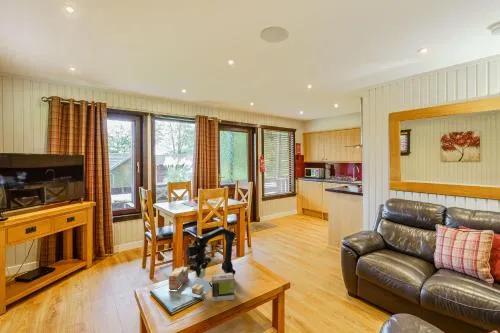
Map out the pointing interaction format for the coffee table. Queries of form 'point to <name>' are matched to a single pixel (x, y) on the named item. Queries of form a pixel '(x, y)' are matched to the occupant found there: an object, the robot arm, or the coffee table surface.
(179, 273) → the printed cardboard box
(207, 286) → the grey flat sheet
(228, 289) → the tea box
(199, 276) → the sage cube
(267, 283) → the coffee table surface
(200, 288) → the maple block
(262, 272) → the coffee table surface
